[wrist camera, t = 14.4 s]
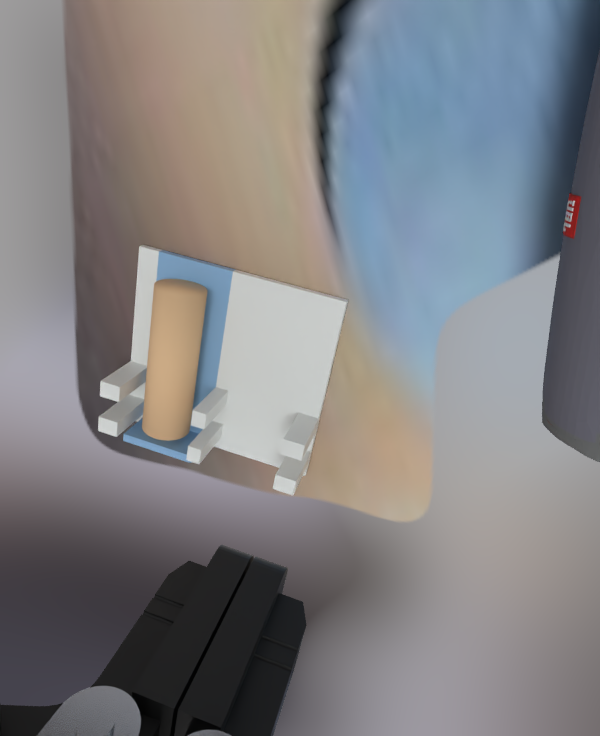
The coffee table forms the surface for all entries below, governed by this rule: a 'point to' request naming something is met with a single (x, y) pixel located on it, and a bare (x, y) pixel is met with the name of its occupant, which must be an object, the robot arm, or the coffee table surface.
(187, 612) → the robot arm
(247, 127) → the coffee table surface
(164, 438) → the tan rounded cylinder
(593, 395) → the bluetooth speaker
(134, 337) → the cylinder holder rack
